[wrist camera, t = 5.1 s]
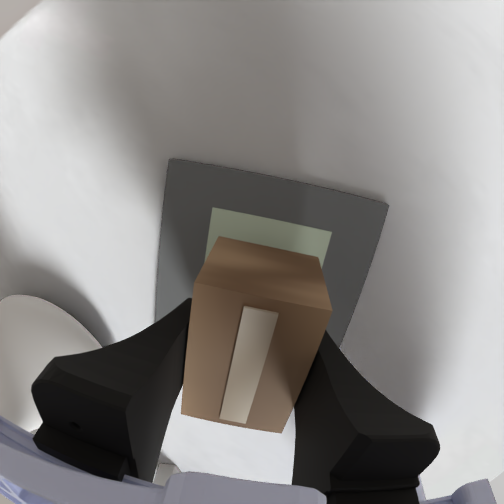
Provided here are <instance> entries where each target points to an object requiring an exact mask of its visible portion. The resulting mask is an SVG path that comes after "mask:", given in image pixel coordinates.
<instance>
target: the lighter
mask: <svg viewBox="0 0 504 504" xmlns="http://www.w3.org/2000/svg"><path fill="white" fill-rule="evenodd" d="M176 473H181V471H180V470H179V468H178V467H177V466H176V465H173V464H163V463H160V464H159V467H158V470H157V473H156V476H155V479H154V482H153V483H154V484H158V485H161V486H165V484H166V481H167V480H168V479H169V477H170V476H171V475H173V474H176Z"/></svg>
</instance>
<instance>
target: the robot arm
mask: <svg viewBox="0 0 504 504" xmlns="http://www.w3.org/2000/svg"><path fill="white" fill-rule="evenodd" d="M191 304H192V298H187V299H186V300H185V301H183V302H182V303H181V304H180V305H178V306H177V307H176V308H175V309H173V310H172V311H171V312H170V313H168V314H167V315H165V316H164V317H163V318H161V319H160V320H159V321H157V322H156V323H154V324H152V325H151V326H149V327H148V328H146V329H144V330H143V331H141V332H139V333H137V334H135V335H133V336H131V337H129V338H127V339H125V340H122V341H120V342H117V343H114V344H112V345H109V346H106V347H103V348H100V349H96V350H92V351H88V352H84V353H79V354H72V355H65V356H57V357H54V358H53V359H52V360H51V361H50V362H49V363H48V364H47V365H46V367H45V368H44V369H43V371H42V372H41V373H40V374H39V376H38V377H37V378H36V380H35V381H34V382H33V384H32V385H31V393H32V397H33V400H34V403H35V405H36V407H37V410H38V412H39V415H40V417H41V419H42V421H43V423H42V424H41V426H40V427H39V429H38V431H37V432H36V434H35V435H33V434H31V433H30V432H28V431H26V430H24V429H22V428H21V427H19V426H17V425H16V424H14V423H12V422H10V421H9V420H7V419H5V418H4V417H2V416H1V415H0V493H1V494H2V495H3V496H5V497H6V498H8V499H9V500H11V501H12V502H14V503H15V504H497V503H496V500H495V497H494V495H493V492H492V489H491V486H490V484H489V481H488V479H482V480H478V481H474V482H470V483H467V484H465V485H463V486H461V487H460V488H458V489H457V490H456V491H455V492H454V493H453V494H452V495H450V496H445V497H441V498H435V499H430V500H426V497H425V493H424V489H423V486H422V482H421V478H420V474H421V473H422V472H423V471H424V470H425V469H426V468H427V467H428V466H429V465H430V464H431V463H432V462H433V460H434V459H435V458H436V457H437V455H438V453H439V450H440V444H439V441H438V438H437V436H436V433H435V430H434V428H433V425H431V424H429V423H427V422H425V421H423V420H422V419H420V418H418V417H416V416H414V415H412V414H410V413H408V412H407V411H405V410H404V409H402V408H400V407H399V406H397V405H396V404H394V403H393V402H392V401H390V400H389V399H388V398H386V397H385V396H384V395H382V394H381V393H380V392H379V391H378V390H376V389H375V388H374V387H373V386H372V385H371V384H370V383H369V382H368V381H367V380H366V379H365V378H363V377H362V375H361V374H360V373H359V372H358V371H357V370H356V369H355V368H354V367H353V365H352V364H351V363H350V362H349V361H348V360H347V358H346V357H345V356H344V354H343V353H342V352H341V351H340V349H339V348H338V346H337V345H336V344H335V342H334V341H333V339H332V338H331V337H330V335H329V334H328V332H327V331H326V330H325V332H324V335H323V338H322V340H321V343H320V345H319V348H318V350H317V353H316V355H315V358H314V360H313V363H312V365H311V368H310V370H309V372H308V375H307V377H306V380H305V382H304V384H303V387H302V389H301V391H300V394H299V396H298V398H297V400H296V403H295V405H294V411H295V425H296V438H295V455H294V467H293V477H292V485H285V484H274V483H265V482H257V481H250V480H243V479H236V478H230V477H224V476H219V475H214V474H209V473H199V472H190V471H188V472H183V473H176V474H173V475H171V476H170V477H169V479H168V480H167V481H166V484H165V486H161V485H158V484H154V483H152V482H153V478H154V474H155V469H156V466H157V462H158V458H159V454H160V450H161V447H162V443H163V439H164V436H165V432H166V429H167V425H168V422H169V419H170V415H171V412H172V409H173V407H174V404H175V401H176V399H177V397H178V395H179V392H180V390H181V388H182V386H183V382H184V371H185V360H186V350H187V340H188V331H189V322H190V313H191Z"/></svg>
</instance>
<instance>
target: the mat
mask: <svg viewBox="0 0 504 504" xmlns="http://www.w3.org/2000/svg"><path fill="white" fill-rule="evenodd" d="M388 208H389V205H388V204H386V203H383V202H379V201H375V200H371V199H368V198H364V197H360V196H356V195H352V194H348V193H344V192H340V191H336V190H332V189H328V188H323V187H319V186H315V185H310V184H306V183H301V182H297V181H292V180H288V179H283V178H278V177H273V176H268V175H263V174H258V173H253V172H248V171H243V170H238V169H232V168H227V167H221V166H215V165H209V164H203V163H197V162H191V161H185V160H178V159H169V162H168V170H167V178H166V186H165V194H164V203H163V213H162V223H161V234H160V246H159V259H158V274H157V292H156V315H155V323H156V322H157V321H159V320H160V319H161V318H163V317H164V316H165V315H167V314H168V313H170V312H171V311H172V310H173V309H175V308H176V307H177V306H178V305H180V304H181V303H182V302H183V301H185V300H186V299H187V298H192V296H193V288H194V282H195V280H196V278H197V276H198V274H199V272H200V270H201V268H202V266H203V265H204V263H205V261H206V259H207V257H208V255H209V253H210V251H211V249H212V248H213V246H214V244H215V242H216V240H217V238H218V236H221V237H226V238H231V239H236V240H241V241H245V242H250V243H255V244H260V245H264V246H269V247H274V248H278V249H283V250H288V251H292V252H297V253H302V254H306V255H311V256H316V257H318V258H319V261H320V265H321V269H322V272H323V276H324V280H325V283H326V287H327V291H328V295H329V299H330V303H331V306H332V310H333V311H332V314H331V316H330V319H329V322H328V324H327V327H326V331H327V332H328V334H329V335H330V337H331V338H332V339H333V341H334V342H335V344H336V345H337V346H338V348H339V347H340V344H341V342H342V340H343V337H344V335H345V332H346V330H347V327H348V325H349V322H350V320H351V317H352V315H353V312H354V309H355V307H356V304H357V302H358V299H359V296H360V293H361V291H362V288H363V285H364V282H365V280H366V277H367V274H368V271H369V268H370V265H371V262H372V259H373V256H374V253H375V250H376V247H377V244H378V241H379V238H380V234H381V231H382V228H383V225H384V221H385V218H386V215H387V211H388Z"/></svg>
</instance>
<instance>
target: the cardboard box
mask: <svg viewBox="0 0 504 504" xmlns="http://www.w3.org/2000/svg"><path fill="white" fill-rule="evenodd" d="M332 311H333V310H332V306H331V303H330V299H329V295H328V291H327V287H326V283H325V280H324V276H323V272H322V269H321V265H320V261H319V258H318V257H316V256H311V255H306V254H302V253H297V252H292V251H288V250H283V249H278V248H274V247H269V246H264V245H260V244H255V243H250V242H245V241H241V240H236V239H231V238H226V237H221V236H218V238H217V240H216V242H215V244H214V246H213V248H212V249H211V251H210V253H209V255H208V257H207V259H206V261H205V263H204V265H203V266H202V268H201V270H200V272H199V274H198V276H197V278H196V280H195V282H194V288H193V296H192V304H191V313H190V322H189V331H188V340H187V350H186V360H185V371H184V382H183V394H182V406H181V414H183V415H187V416H191V417H196V418H200V419H204V420H209V421H213V422H218V423H223V424H228V425H233V426H238V427H244V428H249V429H255V430H262V431H268V432H275V433H282V431H283V429H284V427H285V425H286V422H287V420H288V418H289V416H290V414H291V412H292V409H293V407H294V405H295V403H296V400H297V398H298V396H299V394H300V391H301V389H302V387H303V384H304V382H305V380H306V377H307V375H308V372H309V370H310V368H311V365H312V363H313V360H314V358H315V355H316V353H317V350H318V348H319V345H320V343H321V340H322V338H323V335H324V332H325V330H326V327H327V324H328V322H329V319H330V316H331V314H332Z"/></svg>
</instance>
